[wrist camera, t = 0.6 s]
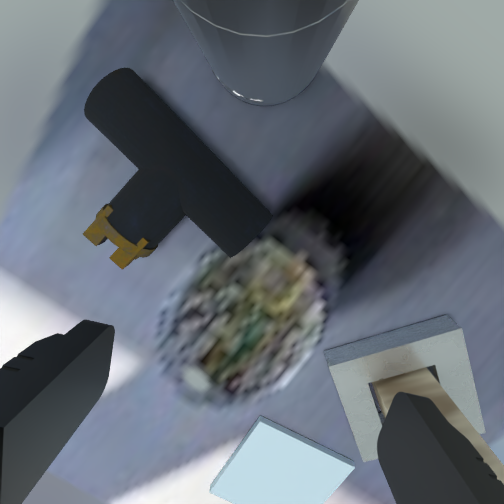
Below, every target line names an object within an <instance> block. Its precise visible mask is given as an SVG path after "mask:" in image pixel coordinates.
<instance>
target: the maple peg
mask: <svg viewBox="0 0 504 504" xmlns="http://www.w3.org/2000/svg"><path fill="white" fill-rule="evenodd" d="M372 385H373V388H374V391H375V394H376V397H377V400H378V403H379V406H380V409H381V411H382V413H383V415H384V417H385V418H386V415H387V413H388V410H389V408H390V405H391V403H392V400H393V398H394V396H395V395H396V394H397V393H398V392H405V393H410V394H414V395H419V396H423V397H427V398H429V399H431V400H432V401H433V402H434V404H435V405H436V406H437V408H438V409H439V410H440V412H441V413H442V414H443V416H444V417H445V418H446V419H447V421H448V422H449V423H450V424H451V425H452V426H454V427H455V428H456V429H457V430H458V431H459V432H460V433H461V434H463V435H464V436H465V437H466V438H467V439H468V440H469V441H470V442H471V444H472V445H473V446H474V447H475V449H476V450H477V451H478V452H479V454H480V455H481V456H482V457H483V459H484V460H483V461H484V462H485V463H487V464H488V465H489V466H490V468H491V469H492V470H493V471H494V473H495V474H496V475H497V479H498V480H501V482H502V483H503V484H504V465H503V464H502V463H501V461H500V460H499V459H498V458H497V456H496V455H495V454H494V452H493V451H492V450H491V449H490V447H489V446H488V445H487V444H486V442H485V441H484V440H483V439H482V437H481V436H480V435H479V433H478V432H477V431H476V430H475V428H474V427H473V426H472V425H471V423H470V422H469V421H468V419H467V418H466V417H465V416H464V414H463V413H462V412H461V411H460V409H459V408H458V407H457V406H456V404H455V403H454V402H453V400H452V399H451V398H450V397H449V395H448V394H447V393H446V392H445V390H444V389H443V388H442V386H441V385H440V384H439V383H438V381H437V380H436V379H435V378H434V376H433V375H432V374H431V373H430V371H429V370H428V369H427V367H425V368H421V369H418V370H414V371H410V372H407V373H403V374H400V375H396V376H392V377H389V378H385V379H382V380H378V381H374V382H372Z"/></svg>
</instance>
